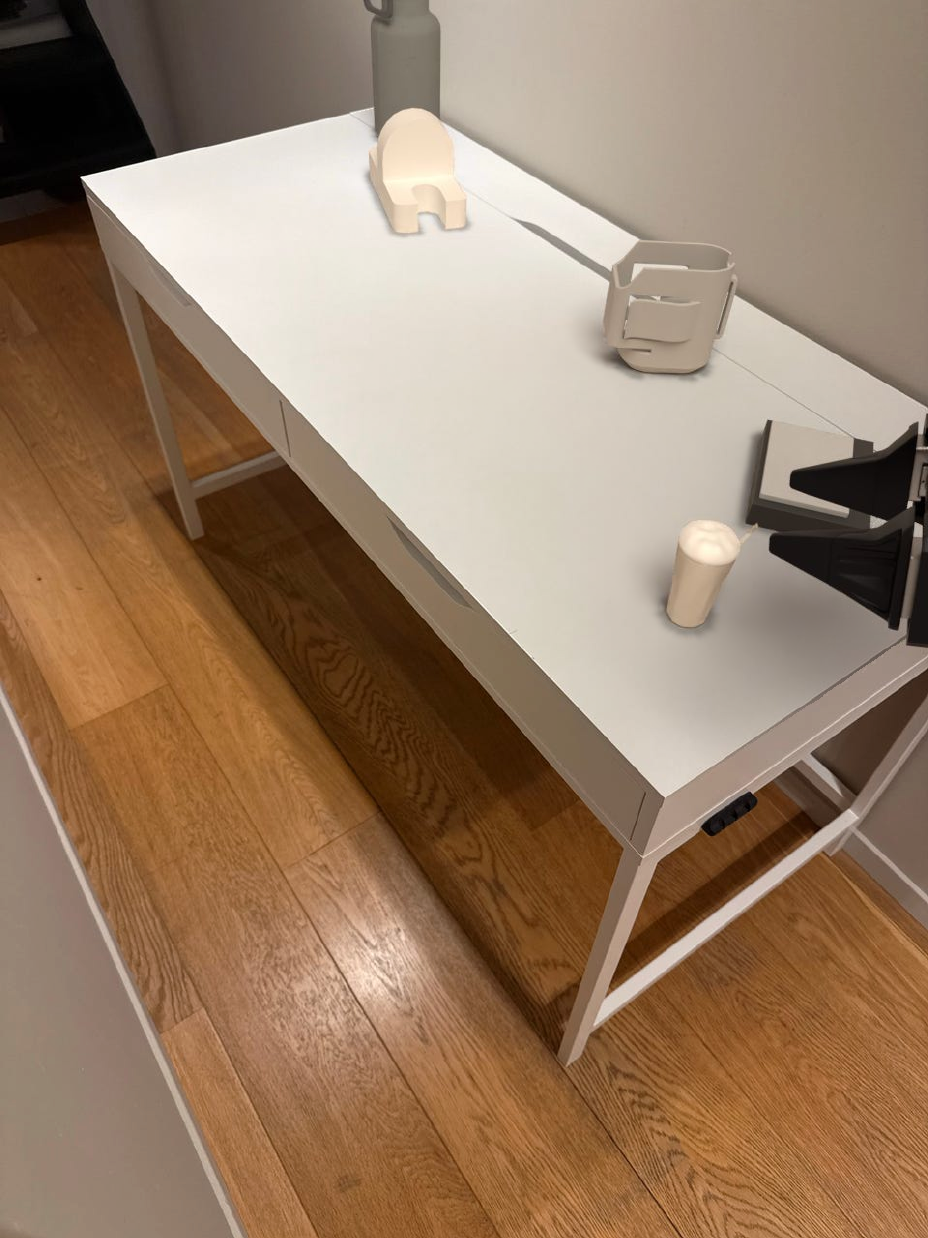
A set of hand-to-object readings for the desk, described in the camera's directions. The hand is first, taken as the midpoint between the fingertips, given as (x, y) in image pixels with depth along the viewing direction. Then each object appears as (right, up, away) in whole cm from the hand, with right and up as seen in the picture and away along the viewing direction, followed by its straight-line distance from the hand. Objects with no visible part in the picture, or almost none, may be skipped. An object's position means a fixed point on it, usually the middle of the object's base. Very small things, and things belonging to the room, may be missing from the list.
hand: (780, 508), depth 53 cm
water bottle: (-28, +67, +81) cm, 109 cm away
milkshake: (0, -6, +19) cm, 20 cm away
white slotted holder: (-25, +50, +67) cm, 87 cm away
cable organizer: (+1, +21, +43) cm, 48 cm away
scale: (+13, +5, +30) cm, 33 cm away
